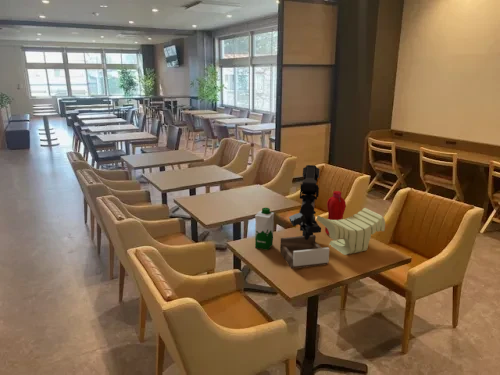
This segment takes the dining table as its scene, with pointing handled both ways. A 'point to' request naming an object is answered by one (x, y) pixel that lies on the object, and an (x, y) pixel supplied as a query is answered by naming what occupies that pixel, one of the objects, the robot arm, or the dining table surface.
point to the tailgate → (310, 256)
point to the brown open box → (297, 248)
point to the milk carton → (264, 229)
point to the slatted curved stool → (353, 230)
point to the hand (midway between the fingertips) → (306, 239)
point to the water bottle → (335, 207)
